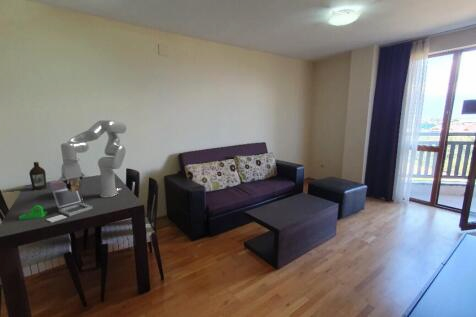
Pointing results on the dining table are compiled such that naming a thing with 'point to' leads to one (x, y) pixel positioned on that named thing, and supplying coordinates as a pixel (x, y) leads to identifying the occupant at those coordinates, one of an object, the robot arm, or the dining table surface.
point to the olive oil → (38, 177)
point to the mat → (56, 218)
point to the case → (69, 201)
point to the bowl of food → (58, 185)
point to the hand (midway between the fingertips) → (73, 187)
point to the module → (74, 185)
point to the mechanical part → (34, 213)
